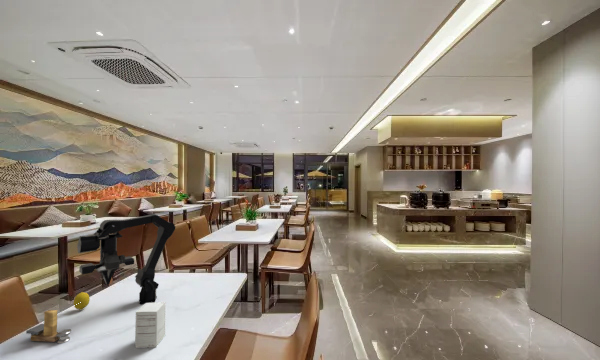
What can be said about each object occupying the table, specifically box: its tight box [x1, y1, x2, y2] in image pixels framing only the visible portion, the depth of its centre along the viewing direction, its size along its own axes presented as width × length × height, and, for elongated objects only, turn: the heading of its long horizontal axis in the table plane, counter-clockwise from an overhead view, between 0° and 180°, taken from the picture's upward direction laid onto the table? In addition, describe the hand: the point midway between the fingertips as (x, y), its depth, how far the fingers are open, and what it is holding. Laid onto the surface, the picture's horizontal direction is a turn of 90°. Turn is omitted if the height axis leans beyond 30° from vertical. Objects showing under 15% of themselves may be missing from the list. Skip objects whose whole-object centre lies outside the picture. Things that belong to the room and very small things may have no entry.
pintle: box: [56, 328, 72, 345], centre depth 92 cm, size 4×4×3 cm
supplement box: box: [134, 301, 167, 349], centre depth 92 cm, size 7×7×13 cm
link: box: [30, 309, 59, 343], centre depth 93 cm, size 9×3×10 cm, turn 87°
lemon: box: [73, 291, 91, 311], centre depth 115 cm, size 6×6×8 cm
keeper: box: [25, 323, 44, 337], centre depth 94 cm, size 5×5×4 cm
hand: (107, 284), depth 112 cm, fingers closed
